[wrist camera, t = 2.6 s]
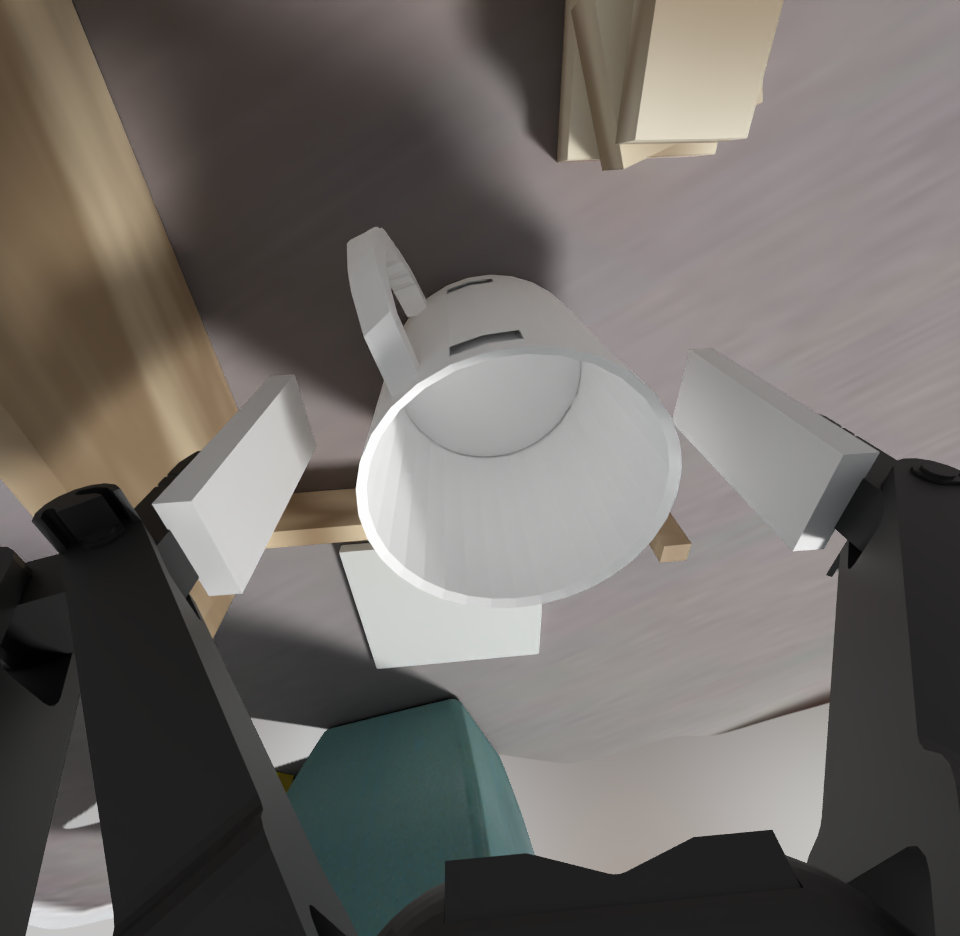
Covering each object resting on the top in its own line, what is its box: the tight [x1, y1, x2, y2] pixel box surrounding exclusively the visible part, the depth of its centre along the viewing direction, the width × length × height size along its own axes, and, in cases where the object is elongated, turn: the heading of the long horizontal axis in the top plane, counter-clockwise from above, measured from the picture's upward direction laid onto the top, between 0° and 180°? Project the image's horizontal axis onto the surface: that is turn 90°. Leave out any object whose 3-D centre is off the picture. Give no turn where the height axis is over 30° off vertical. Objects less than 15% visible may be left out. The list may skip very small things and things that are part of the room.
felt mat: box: [339, 543, 542, 669], centre depth 28 cm, size 12×12×1 cm
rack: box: [0, 0, 692, 638], centre depth 12 cm, size 21×21×12 cm
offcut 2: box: [571, 0, 762, 171], centre depth 12 cm, size 4×4×2 cm
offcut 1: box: [557, 0, 718, 162], centre depth 13 cm, size 5×4×2 cm
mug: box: [347, 227, 682, 608], centre depth 15 cm, size 12×9×9 cm
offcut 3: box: [615, 0, 784, 145], centre depth 10 cm, size 4×3×2 cm
